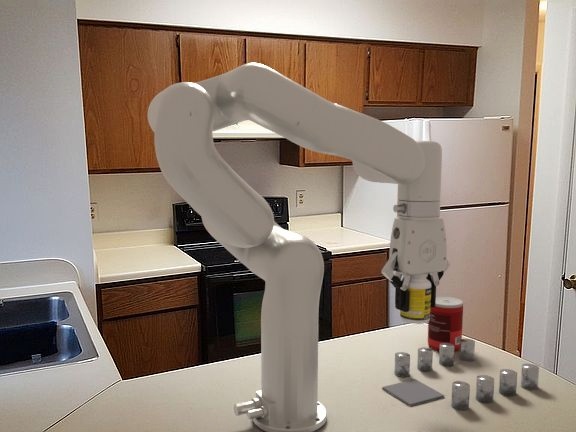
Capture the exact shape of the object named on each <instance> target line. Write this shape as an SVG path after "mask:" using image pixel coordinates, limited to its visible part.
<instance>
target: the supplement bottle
mask: <svg viewBox="0 0 576 432" xmlns="http://www.w3.org/2000/svg"><path fill="white" fill-rule="evenodd" d="M426 277H428V274H420V275H411V276H410V280H409V283H408V287H407V289H406V290H409V291H410V299H409V311H408V312H403V311H401V310H399V318H400V320H401V321H402V322H405V323H408V324H414V325H415V324H416V325H422V324H423V325H424V324H428V322H429V320H430V305H431V282H430V281H429V280H427V279H426Z"/></svg>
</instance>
